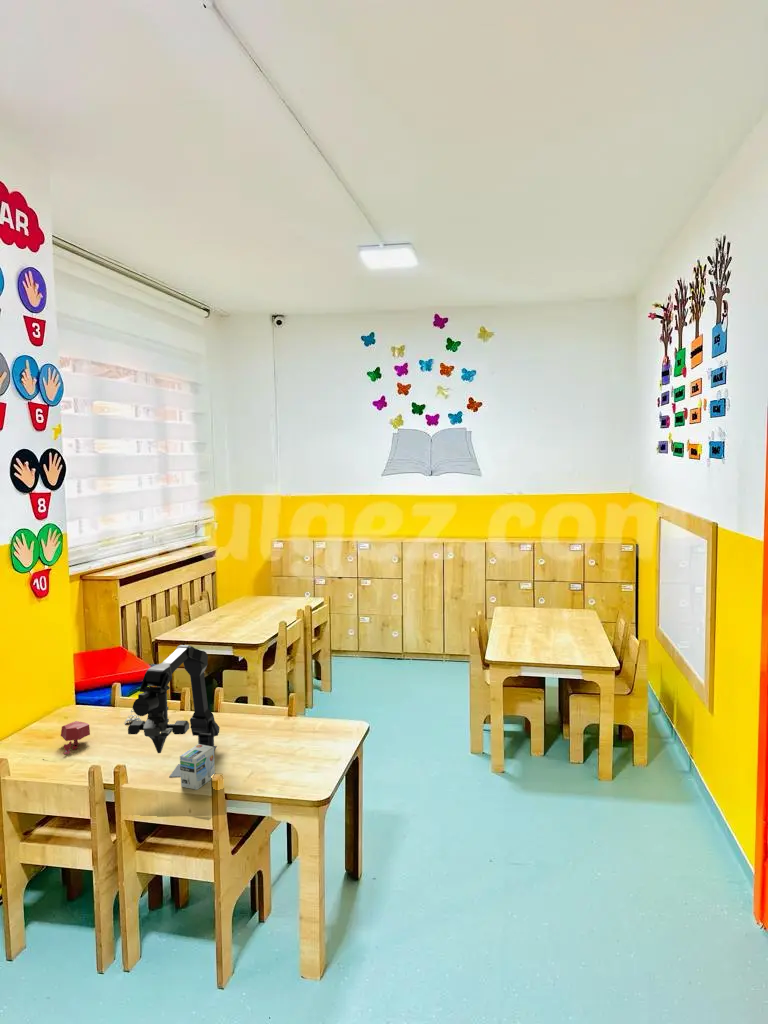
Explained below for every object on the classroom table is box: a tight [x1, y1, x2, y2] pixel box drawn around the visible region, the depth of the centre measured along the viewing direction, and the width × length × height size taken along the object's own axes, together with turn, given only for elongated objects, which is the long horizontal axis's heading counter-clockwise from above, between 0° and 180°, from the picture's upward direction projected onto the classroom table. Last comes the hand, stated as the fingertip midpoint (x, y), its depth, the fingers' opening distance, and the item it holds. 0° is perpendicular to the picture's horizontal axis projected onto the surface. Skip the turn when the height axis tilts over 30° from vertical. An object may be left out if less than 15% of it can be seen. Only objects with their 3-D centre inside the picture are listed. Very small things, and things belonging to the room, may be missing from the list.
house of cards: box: [123, 707, 142, 725], centre depth 307 cm, size 9×9×8 cm
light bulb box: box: [179, 743, 216, 791], centre depth 248 cm, size 11×7×11 cm, turn 159°
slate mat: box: [169, 763, 181, 778], centre depth 258 cm, size 11×20×1 cm, turn 89°
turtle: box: [60, 720, 91, 755], centre depth 278 cm, size 15×20×9 cm
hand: (159, 752), depth 243 cm, fingers closed
